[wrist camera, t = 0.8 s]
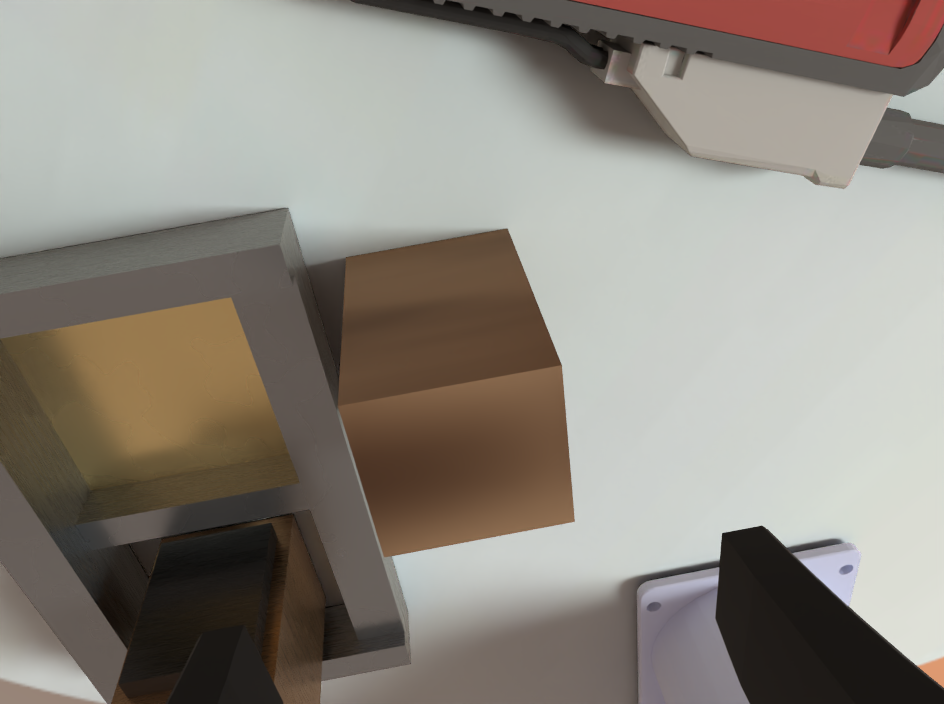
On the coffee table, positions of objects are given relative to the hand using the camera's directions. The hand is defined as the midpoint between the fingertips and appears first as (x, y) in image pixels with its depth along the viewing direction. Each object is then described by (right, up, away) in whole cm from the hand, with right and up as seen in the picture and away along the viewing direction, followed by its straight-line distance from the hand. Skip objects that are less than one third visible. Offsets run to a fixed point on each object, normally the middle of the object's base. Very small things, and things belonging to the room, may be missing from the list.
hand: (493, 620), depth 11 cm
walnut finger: (-1, +5, +8) cm, 9 cm away
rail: (-8, 0, +10) cm, 13 cm away
